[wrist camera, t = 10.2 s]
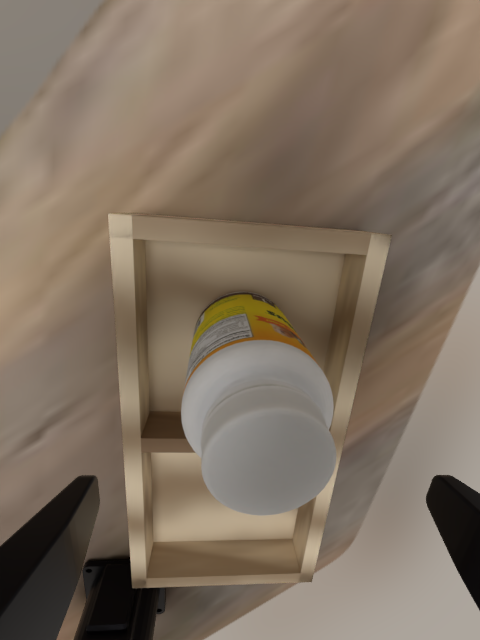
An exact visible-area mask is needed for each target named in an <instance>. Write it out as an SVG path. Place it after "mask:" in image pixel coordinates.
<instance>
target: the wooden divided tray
mask: <svg viewBox="0 0 480 640" xmlns="http://www.w3.org/2000/svg"><path fill="white" fill-rule="evenodd" d="M108 220H109V236H110V251H111V267H112V282H113V298H114V313H115V329H116V345H117V360H118V376H119V391H120V407H121V422H122V438H123V453H124V469H125V484H126V500H127V515H128V531H129V546H130V562H131V577H132V588H156V587H184V586H212V585H240V584H268V583H296V582H312V579H313V574H314V570H315V566H316V561H317V557H318V553H319V548H320V544H321V540H322V535H323V531H324V527H325V522H326V518H327V514H328V509H329V505H330V501H331V496H332V492H333V488H334V483H335V479H336V475H337V470H338V466H339V462H340V457H341V453H342V449H343V444H344V440H345V436H346V431H347V427H348V423H349V418H350V414H351V410H352V405H353V401H354V397H355V392H356V388H357V384H358V379H359V375H360V371H361V366H362V362H363V358H364V353H365V349H366V345H367V340H368V336H369V332H370V327H371V323H372V319H373V314H374V310H375V306H376V301H377V297H378V293H379V288H380V284H381V280H382V275H383V271H384V267H385V262H386V258H387V254H388V249H389V245H390V241H391V236H392V235H388V234H380V233H373V232H366V231H358V230H345V229H332V228H319V227H306V226H293V225H280V224H267V223H254V222H241V221H228V220H214V219H201V218H188V217H175V216H162V215H149V214H136V213H111V214H108ZM234 292H251V293H256V294H259V295H261V296H264V297H266V298H267V299H269V300H270V301H272V302H273V303H274V304H275V305H276V306H278V308H279V309H280V310H281V311H282V313H283V314H284V315H285V317H286V318H287V320H288V321H289V323H290V324H291V325H292V327H293V328H294V330H295V331H296V333H297V334H298V336H299V337H300V339H301V340H302V341H303V343H304V344H305V346H306V347H307V349H308V350H309V352H310V353H311V355H312V356H313V358H314V359H315V360H316V362H317V363H318V365H319V366H320V368H321V369H322V371H323V373H324V374H325V376H326V378H327V380H328V382H329V384H330V387H331V390H332V395H333V405H334V409H333V418H332V422H331V426H330V428H329V431H330V433H331V435H332V437H333V440H334V444H335V447H336V465H335V469H334V472H333V474H332V476H331V478H330V480H329V482H328V483H327V485H326V486H325V488H324V489H323V490H322V491H321V492H320V493H319V494H318V495H317V496H316V497H314V498H313V499H312V500H310V501H309V502H307V503H306V504H304V505H302V506H300V507H298V508H296V509H293V510H291V511H288V512H284V513H280V514H275V515H265V516H259V515H249V514H245V513H241V512H237V511H235V510H232V509H230V508H228V507H226V506H224V505H223V504H222V503H220V502H219V501H218V500H216V499H215V497H214V496H213V495H212V494H211V493H210V491H209V490H208V488H207V486H206V484H205V482H204V479H203V476H202V470H201V458H200V457H199V456H198V455H197V454H196V452H195V451H194V450H193V449H192V447H191V445H190V444H189V442H188V440H187V438H186V436H185V433H184V430H183V426H182V421H181V407H182V397H183V392H184V386H185V380H186V375H187V369H188V363H189V357H190V351H191V345H192V340H193V335H194V330H195V326H196V323H197V321H198V318H199V317H200V315H201V313H202V312H203V310H204V309H205V308H206V307H207V306H208V305H209V304H210V303H212V302H213V301H214V300H216V299H217V298H219V297H221V296H224V295H226V294H230V293H234Z"/></svg>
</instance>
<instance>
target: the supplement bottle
mask: <svg viewBox="0 0 480 640" xmlns="http://www.w3.org/2000/svg"><path fill="white" fill-rule="evenodd" d="M333 409H334V405H333V395H332V390H331V387H330V384H329V382H328V380H327V378H326V376H325V374H324V373H323V371H322V369H321V368H320V366H319V365H318V363H317V362H316V360H315V359H314V358H313V356H312V355H311V353H310V352H309V350H308V349H307V347H306V346H305V344H304V343H303V341H302V340H301V339H300V337H299V336H298V334H297V333H296V331H295V330H294V328H293V327H292V325H291V324H290V323H289V321H288V320H287V318H286V317H285V315H284V314H283V313H282V311H281V310H280V309H279V308H278V306H276V305H275V304H274V303H273V302H272V301H270V300H269V299H267V298H266V297H264V296H261V295H259V294H256V293H251V292H234V293H230V294H226V295H224V296H221V297H219V298H217V299H216V300H214V301H213V302H212V303H210V304H209V305H208V306H207V307H206V308H205V309H204V310H203V312H202V313H201V315H200V317H199V318H198V321H197V323H196V326H195V330H194V335H193V340H192V345H191V351H190V357H189V363H188V369H187V375H186V380H185V386H184V392H183V397H182V407H181V421H182V426H183V430H184V433H185V436H186V438H187V440H188V442H189V444H190V445H191V447H192V449H193V450H194V451H195V452H196V454H197V455H198V456H199V457H200V458H201V470H202V476H203V479H204V482H205V484H206V486H207V488H208V490H209V491H210V493H211V494H212V495H213V496H214V497H215V499H216V500H218V501H219V502H220V503H222V504H223V505H224V506H226V507H228V508H230V509H232V510H235V511H237V512H241V513H245V514H249V515H259V516H265V515H275V514H280V513H284V512H288V511H291V510H293V509H296V508H298V507H300V506H302V505H304V504H306V503H307V502H309V501H310V500H312V499H313V498H314V497H316V496H317V495H318V494H319V493H320V492H321V491H322V490H323V489H324V488H325V486H326V485H327V483H328V482H329V480H330V478H331V476H332V474H333V472H334V469H335V465H336V447H335V444H334V440H333V437H332V435H331V433H330V431H329V428H330V426H331V422H332V418H333Z"/></svg>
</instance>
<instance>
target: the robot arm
mask: <svg viewBox="0 0 480 640" xmlns="http://www.w3.org/2000/svg"><path fill="white" fill-rule="evenodd" d="M426 503H427V506H428V508H429V511H430V513H431V515H432V517H433V519H434V521H435V524H436V526H437V528H438V530H439V532H440V535H441V537H442V539H443V541H444V543H445V545H446V547H447V550H448V552H449V554H450V556H451V558H452V560H453V562H454V564H455V566H456V568H457V570H458V572H459V574H460V576H461V578H462V580H463V582H464V583H465V585H466V587H467V589H468V590H469V592H470V594H471V596H472V598H473V599H474V601H475V603H476V605H477V606H478V608H479V610H480V493H478V492H476V491H475V490H473V489H471V488H470V487H468V486H467V485H465V484H464V483H462V482H461V481H459V480H458V479H456V478H454V477H453V476H450V475H436V476H435V477H434V478H433V479H432V482H431V485H430V488H429V490H428V493H427V496H426ZM99 504H100V497H99V487H98V479H97V477H96V476H94V475H82V476H79V477H77V478H76V479H75V480H73V481H72V482H71V483H70V484H69V485H68V486H67V487H66V488H65V489H63V490H62V491H61V492H60V493H59V494H58V495H57V496H56V497H55V498H53V499H52V500H51V501H50V502H49V503H48V504H47V505H46V506H45V507H43V508H42V509H41V510H40V511H39V512H38V513H37V514H36V515H34V516H33V517H32V518H31V519H30V520H29V521H28V522H27V523H26V524H24V525H23V526H22V527H21V528H20V529H19V530H18V531H17V532H16V533H14V534H13V535H12V536H11V537H10V538H9V539H8V540H7V541H5V542H4V543H3V544H2V545H1V546H0V640H56V639H57V636H58V633H59V631H60V628H61V626H62V623H63V620H64V618H65V615H66V613H67V610H68V607H69V605H70V602H71V600H72V597H73V594H74V591H75V589H76V586H77V583H78V580H79V577H80V573H81V570H82V567H83V563H84V559H85V556H86V552H87V549H88V545H89V542H90V538H91V535H92V531H93V528H94V524H95V520H96V517H97V513H98V510H99ZM83 578H84V585H85V592H86V599H87V601H86V604H85V607H84V610H83V613H82V616H81V619H80V622H79V625H78V628H77V631H76V634H75V637H74V640H153V634H154V627H155V620H156V614H162V613H163V612H164V611H165V587H156V588H132V577H131V562H130V560H122V561H89V562H86V563H85V565H84V568H83Z"/></svg>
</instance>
